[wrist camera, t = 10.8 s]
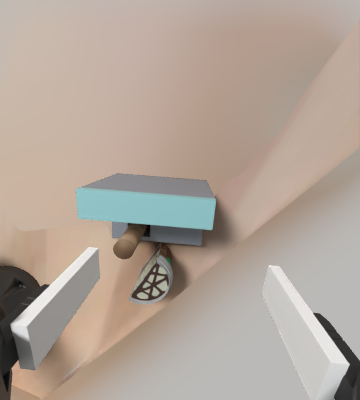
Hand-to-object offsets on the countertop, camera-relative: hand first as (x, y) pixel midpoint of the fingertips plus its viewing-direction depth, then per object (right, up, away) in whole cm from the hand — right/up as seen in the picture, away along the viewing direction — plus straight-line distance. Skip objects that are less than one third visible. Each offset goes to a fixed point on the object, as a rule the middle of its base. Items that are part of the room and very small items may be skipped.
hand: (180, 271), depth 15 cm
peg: (-9, +1, +31) cm, 32 cm away
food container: (-5, -10, +34) cm, 35 cm away
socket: (-5, +4, +30) cm, 30 cm away
